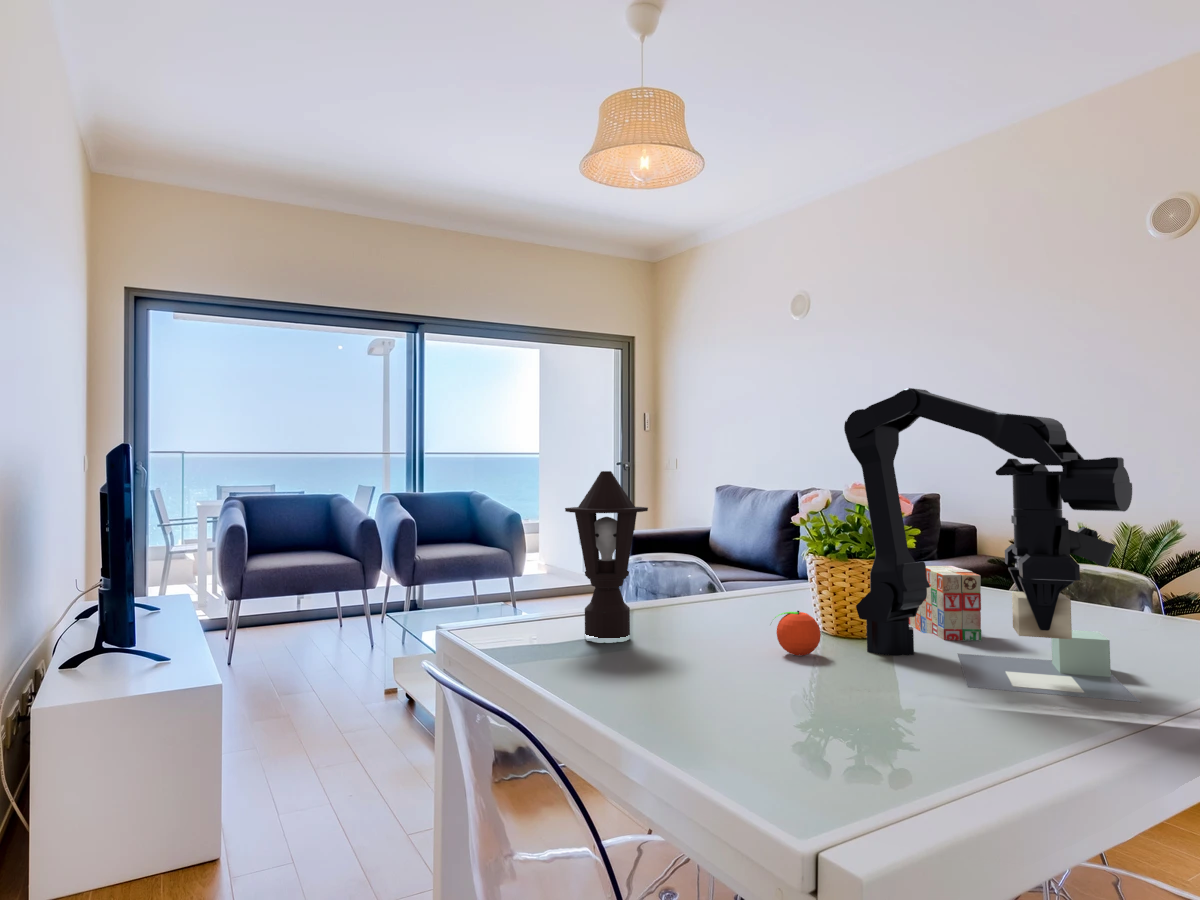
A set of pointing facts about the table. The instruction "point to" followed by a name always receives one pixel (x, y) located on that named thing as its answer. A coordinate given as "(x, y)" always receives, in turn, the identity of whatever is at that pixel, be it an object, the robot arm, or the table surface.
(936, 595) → the stack of blocks
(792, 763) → the table surface
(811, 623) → the clementine
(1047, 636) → the maple block
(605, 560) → the lantern
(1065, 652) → the sage block
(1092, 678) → the plate
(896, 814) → the table surface
